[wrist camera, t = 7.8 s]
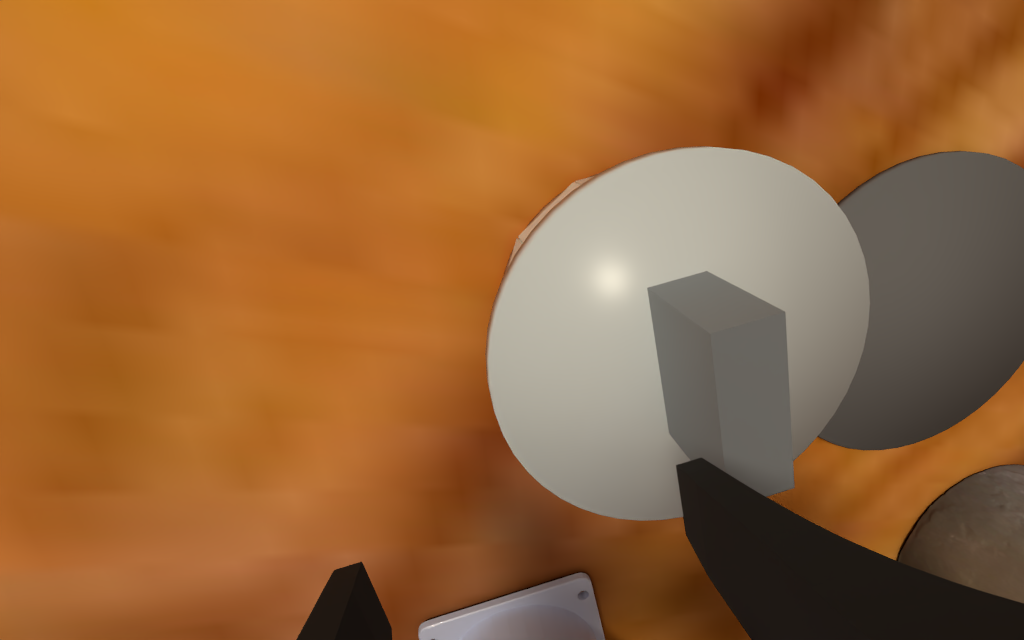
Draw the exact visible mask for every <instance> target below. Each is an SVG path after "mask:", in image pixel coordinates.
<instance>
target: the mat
mask: <svg viewBox="0 0 1024 640" xmlns="http://www.w3.org/2000/svg"><path fill="white" fill-rule="evenodd" d="M837 205H838V206H839V207H840V209H841V210H842V211H843V213H844V214H845V215H846V217H847V219H848V221H849V223H850V224H851V226H852V228H853V230H854V232H855V234H856V235H857V238H858V241H859V244H860V247H861V249H862V252H863V255H864V259H865V264H866V269H867V274H868V279H869V295H870V309H869V322H868V329H867V334H866V339H865V344H864V349H863V352H862V355H861V358H860V362H859V365H858V368H857V371H856V373H855V375H854V378H853V380H852V382H851V384H850V386H849V389H848V391H847V393H846V395H845V396H844V398H843V400H842V402H841V403H840V405H839V407H838V408H837V410H836V412H835V414H834V415H833V416H832V418H831V419H830V420H829V422H828V423H827V425H826V426H825V427H824V429H823V430H822V431H821V433H820V434H819V435H818V436H819V437H820V438H822V439H825V440H827V441H829V442H831V443H833V444H836V445H840V446H843V447H847V448H852V449H860V450H884V449H891V448H898V447H902V446H906V445H910V444H914V443H916V442H919V441H922V440H925V439H927V438H930V437H932V436H934V435H936V434H938V433H940V432H943V431H945V430H947V429H948V428H950V427H952V426H953V425H955V424H957V423H958V422H960V421H962V420H963V419H965V418H966V417H967V416H969V415H970V414H972V413H973V412H974V411H976V410H977V409H978V408H980V407H981V406H982V405H983V404H984V403H985V402H987V401H988V400H989V399H990V398H991V397H992V396H993V395H994V394H995V393H996V392H997V391H998V390H999V389H1000V388H1001V387H1002V386H1003V385H1004V384H1005V383H1006V382H1007V381H1008V380H1009V379H1010V377H1011V376H1012V375H1013V374H1014V373H1015V371H1016V370H1017V369H1018V368H1019V366H1020V365H1021V364H1022V362H1023V361H1024V169H1023V168H1021V167H1020V166H1018V165H1016V164H1014V163H1012V162H1010V161H1008V160H1006V159H1004V158H1001V157H997V156H994V155H990V154H985V153H976V152H964V151H954V152H938V153H934V154H929V155H924V156H919V157H916V158H913V159H910V160H908V161H905V162H902V163H899V164H897V165H895V166H893V167H891V168H889V169H887V170H885V171H883V172H881V173H879V174H877V175H875V176H874V177H872V178H871V179H869V180H868V181H866V182H865V183H863V184H861V185H860V186H858V187H857V188H856V189H855V190H853V191H852V192H851V193H850V194H849V195H847V196H846V197H845V198H844V199H842V200H841V201H840V202H839V203H838V204H837Z"/></svg>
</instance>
